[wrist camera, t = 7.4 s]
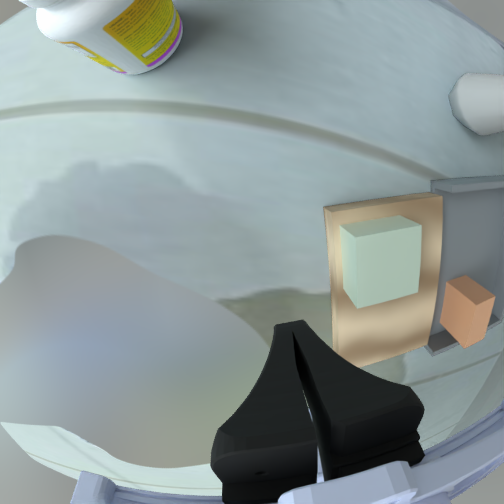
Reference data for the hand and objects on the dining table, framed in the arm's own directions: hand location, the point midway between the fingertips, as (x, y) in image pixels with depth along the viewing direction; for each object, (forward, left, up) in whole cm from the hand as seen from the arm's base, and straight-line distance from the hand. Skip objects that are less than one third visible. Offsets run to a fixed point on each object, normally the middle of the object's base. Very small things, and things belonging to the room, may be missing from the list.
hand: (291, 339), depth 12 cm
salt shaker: (+11, -21, -10) cm, 26 cm away
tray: (-4, -21, -10) cm, 23 cm away
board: (-4, -10, -10) cm, 14 cm away
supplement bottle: (+19, +6, -10) cm, 23 cm away
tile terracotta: (-8, -17, -7) cm, 20 cm away
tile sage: (0, -8, -8) cm, 11 cm away
